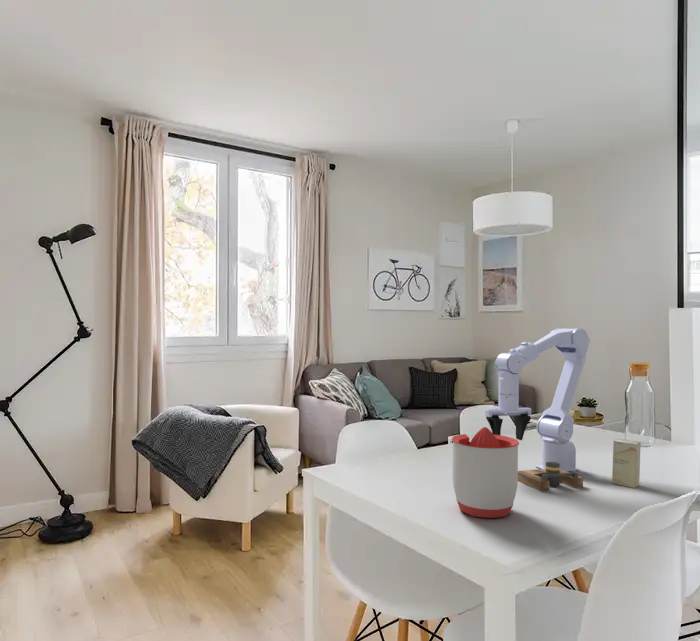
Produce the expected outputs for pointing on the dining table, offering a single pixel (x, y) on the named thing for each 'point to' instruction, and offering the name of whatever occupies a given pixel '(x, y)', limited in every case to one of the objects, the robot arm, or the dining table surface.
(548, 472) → the grey cylinder with band
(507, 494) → the citrus juicer
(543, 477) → the wooden bracket with rod
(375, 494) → the dining table surface
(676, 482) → the dining table surface
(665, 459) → the dining table surface
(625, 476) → the skincare box
